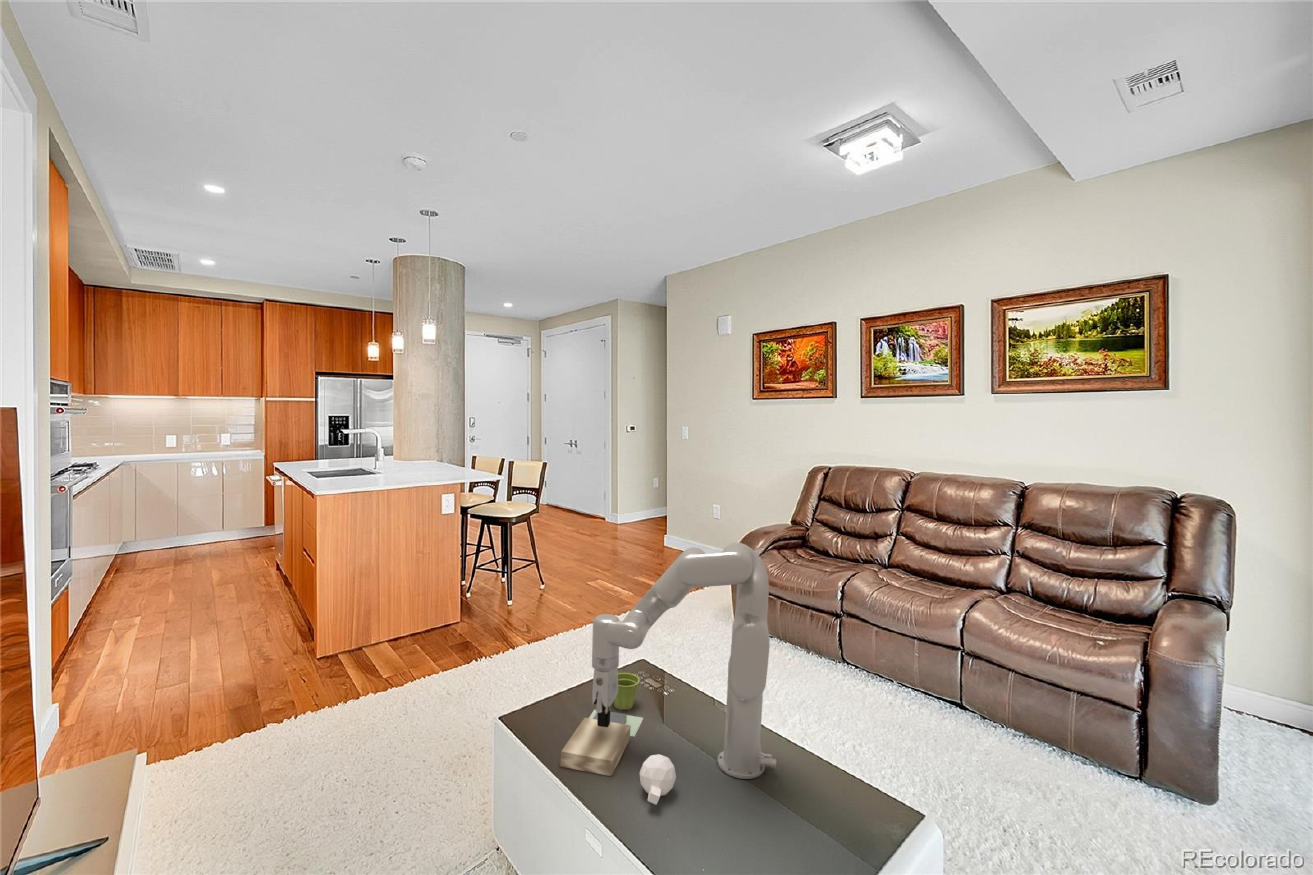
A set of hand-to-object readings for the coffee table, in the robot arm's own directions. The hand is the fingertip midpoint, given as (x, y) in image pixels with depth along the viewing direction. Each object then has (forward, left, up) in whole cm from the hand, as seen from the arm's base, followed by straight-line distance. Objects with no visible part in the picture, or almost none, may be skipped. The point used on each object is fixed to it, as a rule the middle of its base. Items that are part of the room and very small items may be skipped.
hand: (603, 725), depth 157 cm
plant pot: (+1, -24, -6) cm, 25 cm away
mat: (+1, -13, -6) cm, 14 cm away
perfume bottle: (-19, +16, -6) cm, 25 cm away
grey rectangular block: (+2, -12, -4) cm, 12 cm away
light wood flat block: (+1, +3, -6) cm, 7 cm away
